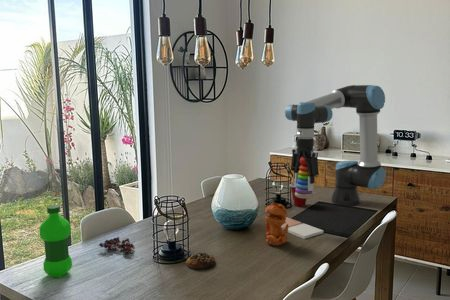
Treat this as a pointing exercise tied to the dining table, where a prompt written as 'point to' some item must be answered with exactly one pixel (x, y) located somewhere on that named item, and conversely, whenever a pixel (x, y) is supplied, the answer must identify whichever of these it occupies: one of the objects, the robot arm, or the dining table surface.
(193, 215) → the dining table surface
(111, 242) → the grape bunch
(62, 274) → the plastic bottle
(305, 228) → the cream tile
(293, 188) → the plastic cup
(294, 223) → the terracotta tile
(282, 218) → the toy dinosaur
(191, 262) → the bread roll
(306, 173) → the stacking toy
